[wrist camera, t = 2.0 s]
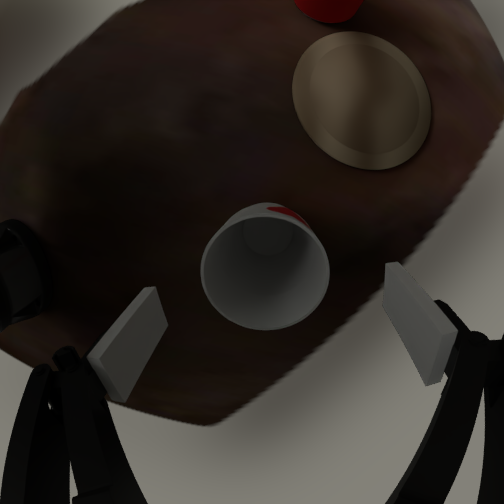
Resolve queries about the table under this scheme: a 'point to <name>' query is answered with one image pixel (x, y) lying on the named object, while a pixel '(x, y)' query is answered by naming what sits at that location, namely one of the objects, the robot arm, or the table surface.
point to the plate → (361, 100)
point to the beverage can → (329, 9)
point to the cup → (265, 268)
